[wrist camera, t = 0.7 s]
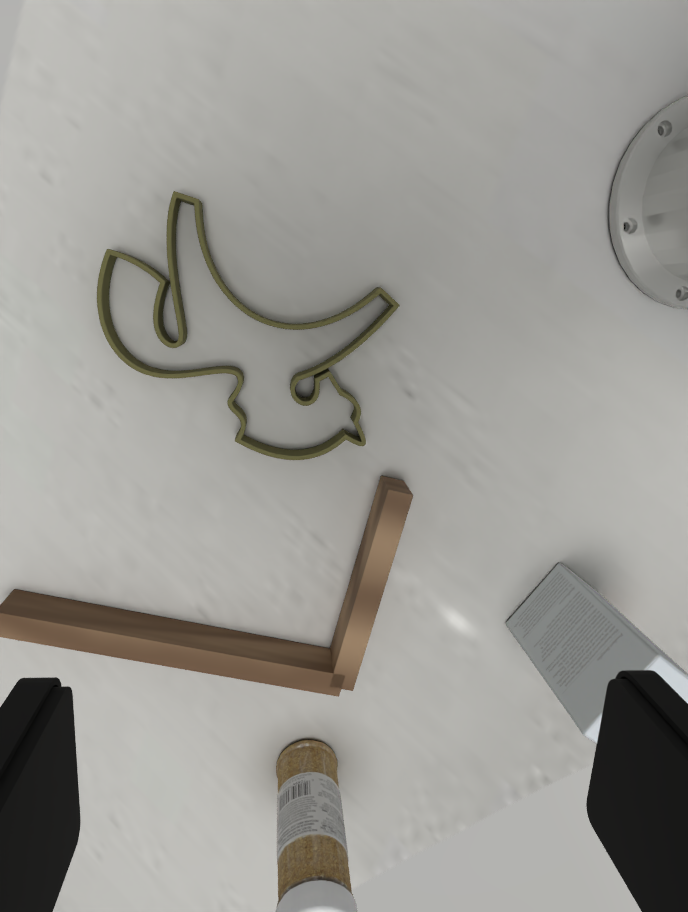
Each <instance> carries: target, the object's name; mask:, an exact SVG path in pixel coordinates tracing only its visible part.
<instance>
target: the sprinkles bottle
mask: <svg viewBox="0 0 688 912" xmlns="http://www.w3.org/2000/svg"><path fill="white" fill-rule="evenodd" d="M276 773H277V777H278V795H277V863H278V897H279V900H278V904H277V909H276V912H357V906H356V902H355V899H354V897H353V894H352V892H351V883H350V875H349V867H348V851H347V843H346V835H345V827H344V820H343V811H342V803H341V795H340V791H339V787H338V778H337V759H336V756H335V754H334V752H333V751H332V750H331V748H330V747H328V746H327V745H326V744H324V743H322V742H318V741H314V740H303V741H299V742H296V743H294V744H292V745H290V746H289V747H287V748H286V749H285V750H284V751H283V752H282V753H281V755H280V757H279V759H278V761H277V766H276Z"/></svg>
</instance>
